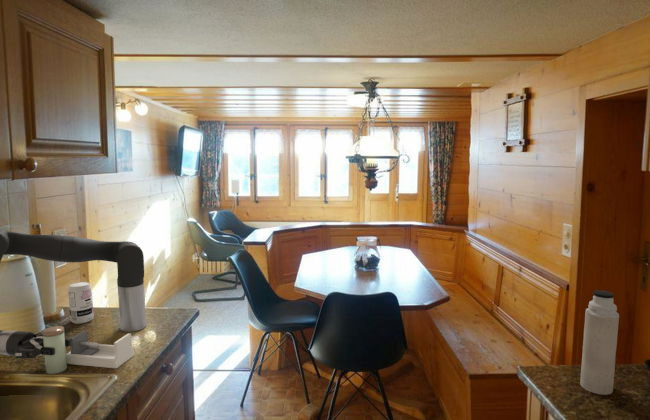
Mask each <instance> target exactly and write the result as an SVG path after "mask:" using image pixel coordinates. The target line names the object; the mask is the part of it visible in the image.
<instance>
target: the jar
mask: <svg viewBox="0 0 650 420" xmlns="http://www.w3.org/2000/svg"><path fill="white" fill-rule="evenodd" d="M41 333H42V334H41V335H42V337H43V342H44V347H52V348H55V354H54V355H44V363H45V364H44V365H45V373H46V374H48V375H54V374H56V375H57V374H59V373H63V372H64V371H66V370H67V368H68V364H67V360H66V353H67V350H66V347H65V339H66V338H65V327H64V326H62V325H55V326H50V327H47V328H44V329H43V330H42V331H41Z"/></svg>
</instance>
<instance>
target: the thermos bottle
mask: <svg viewBox="0 0 650 420" xmlns="http://www.w3.org/2000/svg"><path fill="white" fill-rule="evenodd" d="M592 295H593V296H592V300H590V301H589V302H588V304H587V305H588V308H585V313H584V326H583V327H584V328H583V341H582V355H581V356H582V357H581V369H580V381H579V384H580V386H581V388H583V389H584V390H586V391H588V392H590V393H593V394H596V395H604V396H605V395H606V396H607V395H611V394H612V393H613V392H614V382H615V381H614V380H615V367H616V357H617V355H616V354H617V345H618V332H619V321H620V314H619V312H617V311H618V306H617V305H616V304H615V303H614V301H615V300H614V297H615V294H614V293H613V292H611V291H606V290H593V292H592Z"/></svg>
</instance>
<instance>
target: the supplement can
mask: <svg viewBox="0 0 650 420" xmlns="http://www.w3.org/2000/svg"><path fill="white" fill-rule="evenodd" d="M67 290H68V303H69V305H68V306H69V316H70V317H69V318H70V322H72V323H73V324H76V325H78V324H79V325H80V324H85V323H88V322H91V321H92V320H93V319H94V318H95V317H94V316H95V313H94V301H93V288H92V285H91V284H90V282H89V281H78V282H74V283H71V284H69V287H68V288H67Z"/></svg>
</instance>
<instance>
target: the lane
mask: <svg viewBox="0 0 650 420" xmlns="http://www.w3.org/2000/svg"><path fill="white" fill-rule="evenodd" d="M88 348H94V349H99V351H97V352H96V353H94V354H93V355H80V354H71V350H70V351H68V352H66V360H67V365H74V366H75V365H76V366H77V365H78V366H86V367H87V366H89V367H95V368H97V367H98V368H106V369H107V368H108V369H117V368H119V367H120V366H122V365H124V363H126V362H127V361H129V360H130V359H131V358H133V357H134V356H135V348H134V346H132V334H131V333H129V332H127V333H126V334H125V335H124V336H122V337H121V338H119V339H117V340H116V341H114V342H113V344H103V343H98V346H97V347H96V346H88Z"/></svg>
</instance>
